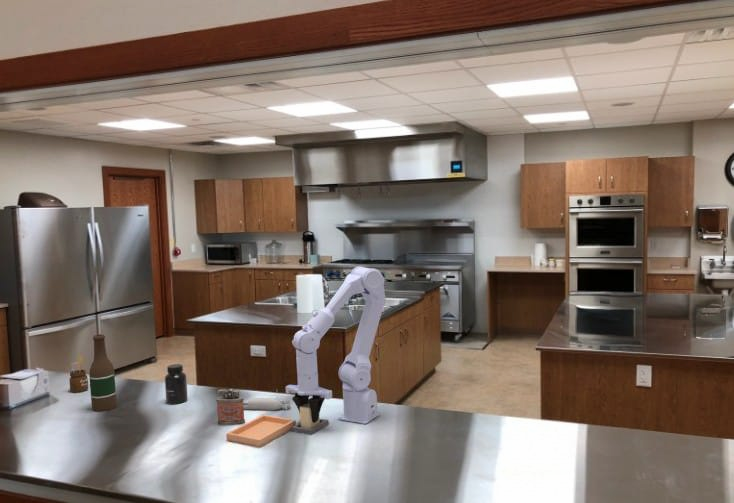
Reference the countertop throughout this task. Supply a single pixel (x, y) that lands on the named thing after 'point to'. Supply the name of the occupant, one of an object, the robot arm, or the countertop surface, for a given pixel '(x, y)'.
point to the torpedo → (265, 404)
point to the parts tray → (260, 430)
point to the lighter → (230, 408)
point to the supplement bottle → (175, 384)
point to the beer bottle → (102, 378)
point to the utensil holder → (78, 379)
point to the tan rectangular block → (307, 417)
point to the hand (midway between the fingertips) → (310, 420)
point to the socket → (311, 431)
